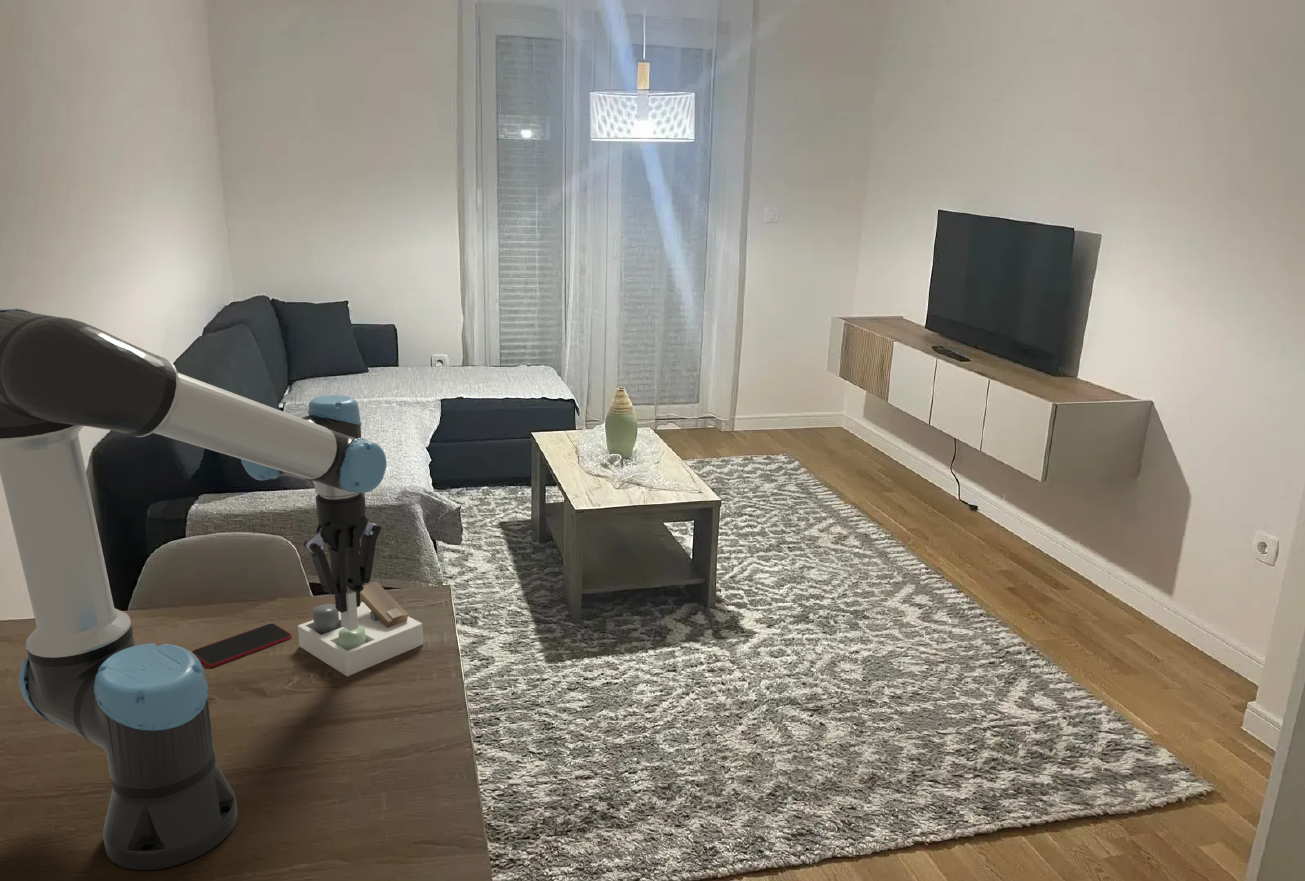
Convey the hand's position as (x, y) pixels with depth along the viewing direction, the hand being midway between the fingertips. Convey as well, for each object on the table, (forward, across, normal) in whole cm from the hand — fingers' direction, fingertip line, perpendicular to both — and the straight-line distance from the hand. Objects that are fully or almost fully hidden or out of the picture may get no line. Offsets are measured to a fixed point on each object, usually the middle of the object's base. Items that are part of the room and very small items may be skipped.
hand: (349, 626), depth 163 cm
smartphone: (+7, -10, +19) cm, 23 cm away
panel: (+7, +4, +4) cm, 9 cm away
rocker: (0, +9, +4) cm, 10 cm away
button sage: (+5, 0, 0) cm, 5 cm away
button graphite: (+4, 0, +8) cm, 9 cm away
